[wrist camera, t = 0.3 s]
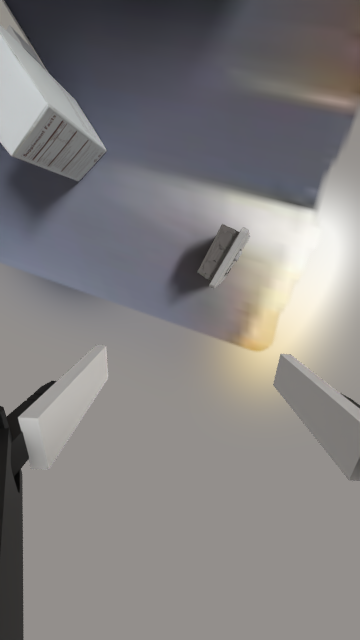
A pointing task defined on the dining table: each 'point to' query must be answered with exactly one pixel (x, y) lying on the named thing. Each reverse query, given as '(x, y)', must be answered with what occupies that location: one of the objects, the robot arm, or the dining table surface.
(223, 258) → the electrical switch
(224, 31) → the dining table surface
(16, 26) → the tray
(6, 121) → the supplement box
